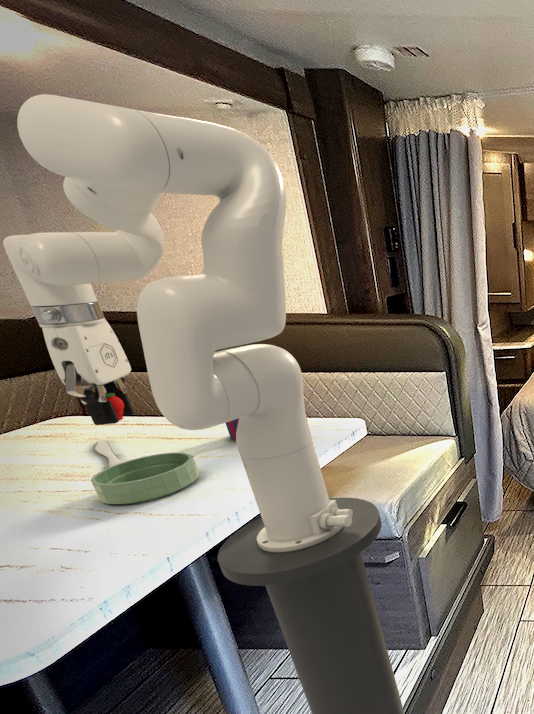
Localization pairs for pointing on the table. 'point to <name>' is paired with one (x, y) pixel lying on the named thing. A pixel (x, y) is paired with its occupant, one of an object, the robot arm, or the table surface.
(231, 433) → the mug
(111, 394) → the strawberry
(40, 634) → the table surface
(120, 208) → the robot arm
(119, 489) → the bowl
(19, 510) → the table surface
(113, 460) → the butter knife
